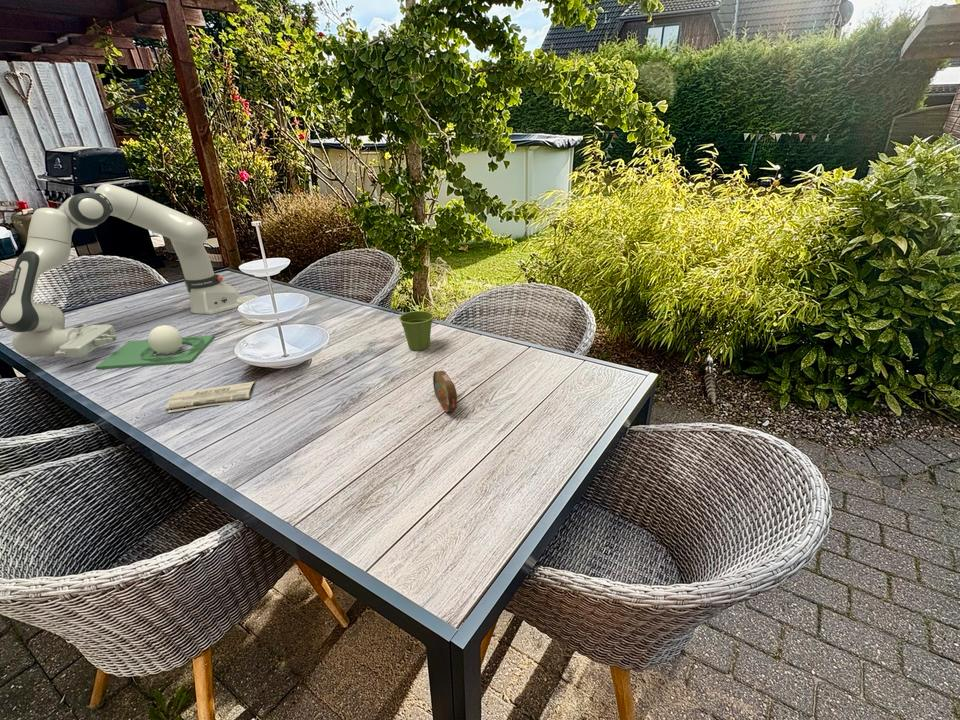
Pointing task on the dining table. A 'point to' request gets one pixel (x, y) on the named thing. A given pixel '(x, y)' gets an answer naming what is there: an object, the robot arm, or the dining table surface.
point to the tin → (445, 391)
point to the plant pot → (417, 328)
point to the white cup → (243, 300)
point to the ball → (165, 339)
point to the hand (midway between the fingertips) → (114, 339)
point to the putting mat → (144, 354)
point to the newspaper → (209, 396)
